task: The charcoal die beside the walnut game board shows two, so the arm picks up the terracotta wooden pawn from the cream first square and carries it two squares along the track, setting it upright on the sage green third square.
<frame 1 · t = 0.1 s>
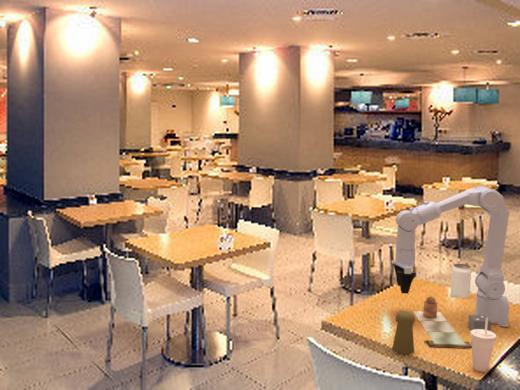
hand: (402, 289, 178), 10 cm above the table, tool pointing down, fingers open, 7 cm apart
can: (459, 298, 202), on the table
game board: (437, 329, 171), on the table
pawn: (429, 316, 180), point 1 cm above the table, touching game board
die: (478, 333, 169), on the table
smoothie: (480, 369, 145), on the table
cork: (403, 350, 156), on the table
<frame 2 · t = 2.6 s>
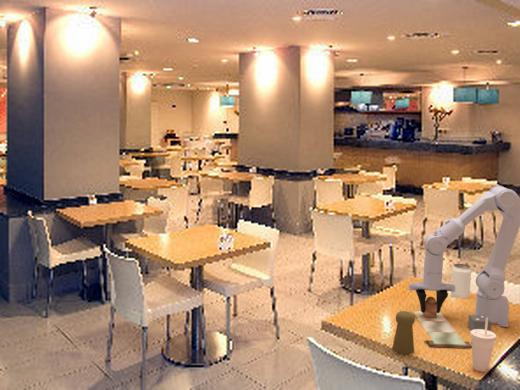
hand: (430, 311, 180), 2 cm above the table, tool pointing down, fingers closed on pawn, 4 cm apart
pawn: (429, 315, 180), point 1 cm above the table, touching game board, gripper
everything else where it was.
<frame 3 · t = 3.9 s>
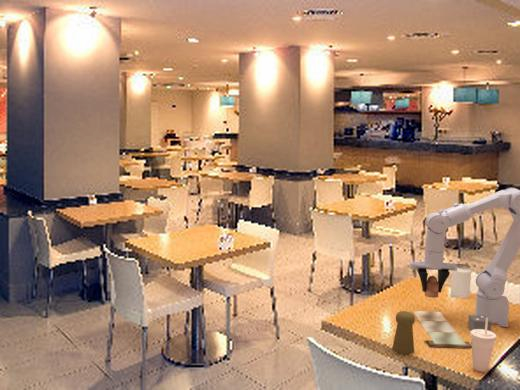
hand: (431, 291, 179), 9 cm above the table, tool pointing down, fingers closed on pawn, 4 cm apart
pawn: (431, 295, 179), point 8 cm above the table, touching gripper
everything else where it was.
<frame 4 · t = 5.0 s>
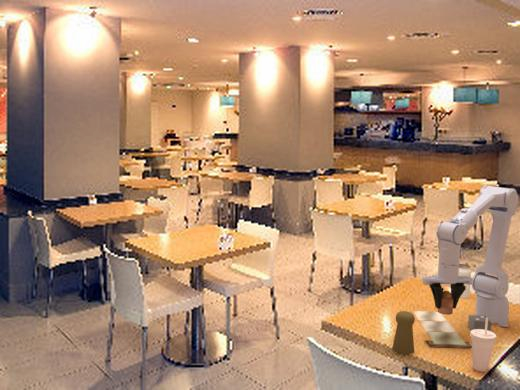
hand: (445, 307, 163), 9 cm above the table, tool pointing down, fingers closed on pawn, 4 cm apart
pawn: (444, 312, 164), point 8 cm above the table, touching gripper
everything else where it was.
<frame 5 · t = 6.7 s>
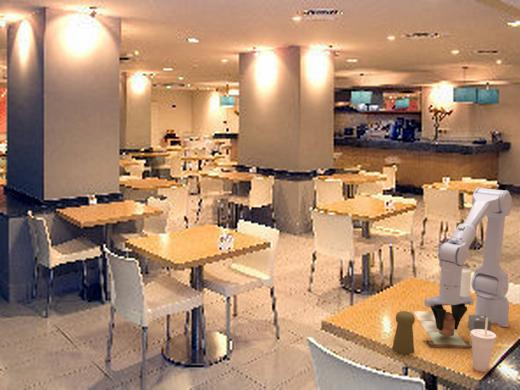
hand: (446, 328, 162), 4 cm above the table, tool pointing down, fingers closed on pawn, 4 cm apart
pawn: (446, 333, 162), point 3 cm above the table, touching gripper
everything else where it was.
when the fingers open (4 cm above the table, at t = 7.8 s): pawn drops 1 cm, resting on game board.
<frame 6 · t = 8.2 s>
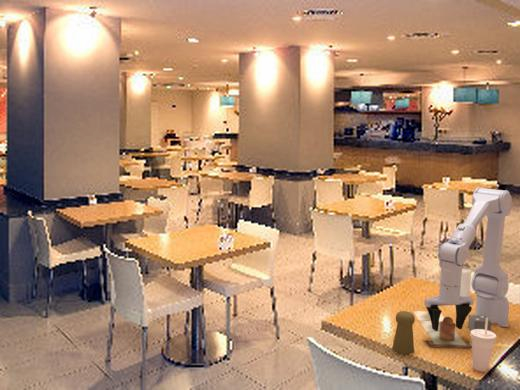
hand: (446, 328, 162), 4 cm above the table, tool pointing down, fingers open, 7 cm apart
pawn: (446, 338, 162), point 1 cm above the table, touching game board
everything else where it was.
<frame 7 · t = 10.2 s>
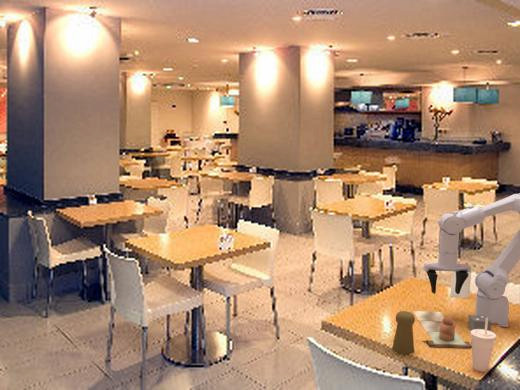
hand: (445, 292, 178), 9 cm above the table, tool pointing down, fingers open, 7 cm apart
nothing on the table moved.
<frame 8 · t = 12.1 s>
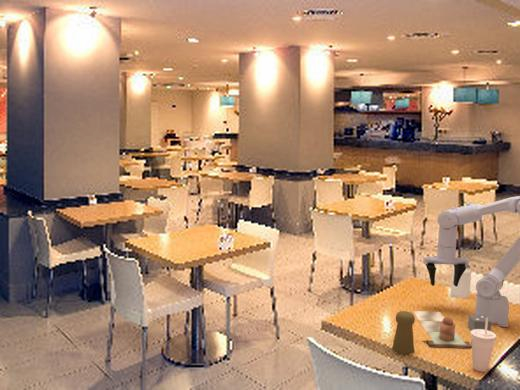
hand: (443, 285, 185), 9 cm above the table, tool pointing down, fingers open, 7 cm apart
nothing on the table moved.
at the end: pawn 0.2 cm from the target spot on the game board, point 1.0 cm above the game board's base; pawn tilted 0°; the gripper is holding nothing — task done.
